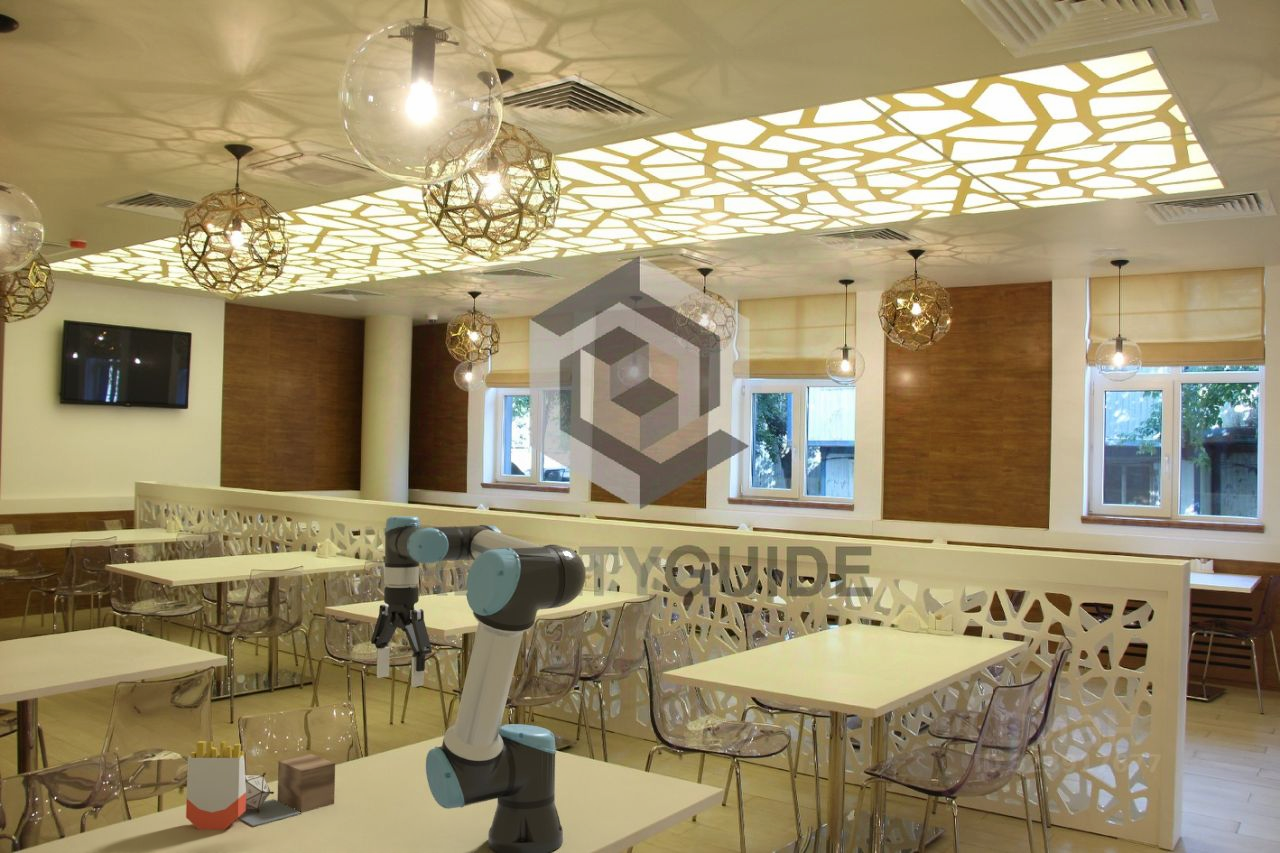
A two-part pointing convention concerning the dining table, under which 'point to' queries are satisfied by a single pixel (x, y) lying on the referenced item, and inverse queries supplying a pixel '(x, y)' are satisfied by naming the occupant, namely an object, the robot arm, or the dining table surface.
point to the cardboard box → (306, 782)
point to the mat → (267, 813)
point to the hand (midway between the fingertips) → (399, 681)
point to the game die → (256, 791)
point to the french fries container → (215, 786)
